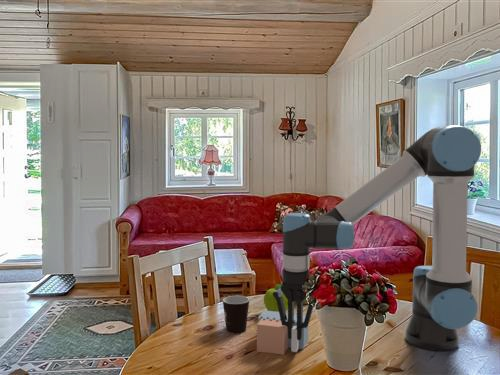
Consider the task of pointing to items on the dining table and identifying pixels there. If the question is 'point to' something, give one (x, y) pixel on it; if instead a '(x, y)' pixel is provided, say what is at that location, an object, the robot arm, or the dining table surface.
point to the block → (272, 336)
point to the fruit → (274, 300)
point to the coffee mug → (236, 313)
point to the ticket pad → (304, 339)
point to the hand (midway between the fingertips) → (294, 349)
